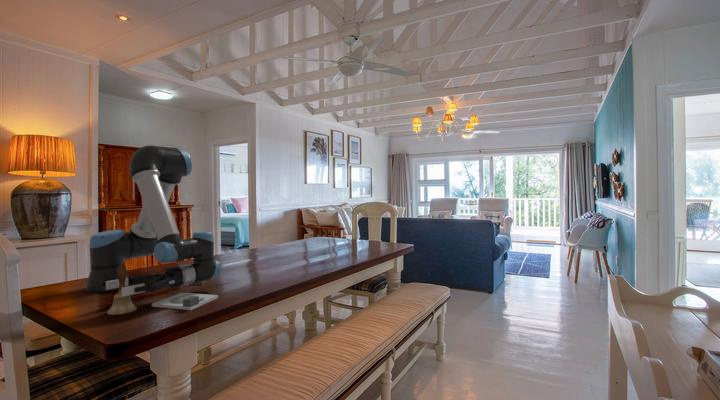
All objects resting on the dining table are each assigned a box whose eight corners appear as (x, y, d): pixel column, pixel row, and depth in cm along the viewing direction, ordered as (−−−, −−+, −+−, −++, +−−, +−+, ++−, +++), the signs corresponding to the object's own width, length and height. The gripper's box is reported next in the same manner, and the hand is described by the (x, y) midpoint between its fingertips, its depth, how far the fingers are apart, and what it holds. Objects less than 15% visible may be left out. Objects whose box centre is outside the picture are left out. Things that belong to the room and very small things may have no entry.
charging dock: (151, 306, 123) (151, 296, 123) (182, 295, 136) (182, 286, 136) (190, 310, 118) (190, 300, 118) (218, 297, 132) (217, 288, 132)
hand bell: (121, 306, 123) (119, 260, 123) (142, 307, 122) (141, 261, 122) (100, 314, 115) (99, 265, 115) (123, 315, 114) (122, 266, 113)
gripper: (196, 291, 126) (129, 307, 109) (164, 281, 141) (100, 293, 124) (196, 270, 126) (129, 282, 109) (163, 262, 141) (100, 272, 124)
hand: (113, 288), depth 116 cm, fingers open, 13 cm apart
